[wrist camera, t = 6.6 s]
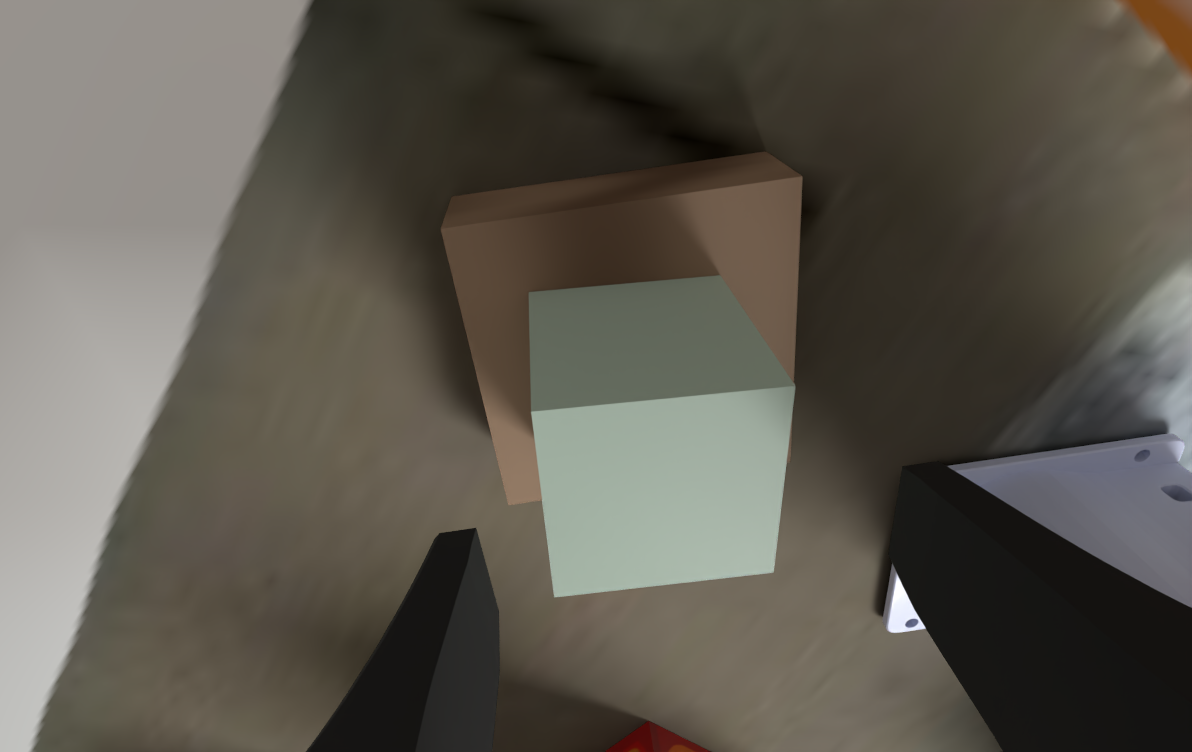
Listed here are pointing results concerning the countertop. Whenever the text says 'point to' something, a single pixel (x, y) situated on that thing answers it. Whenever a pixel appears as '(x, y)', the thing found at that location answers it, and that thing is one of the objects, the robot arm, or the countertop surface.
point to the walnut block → (616, 265)
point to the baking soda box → (654, 741)
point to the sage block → (656, 434)
